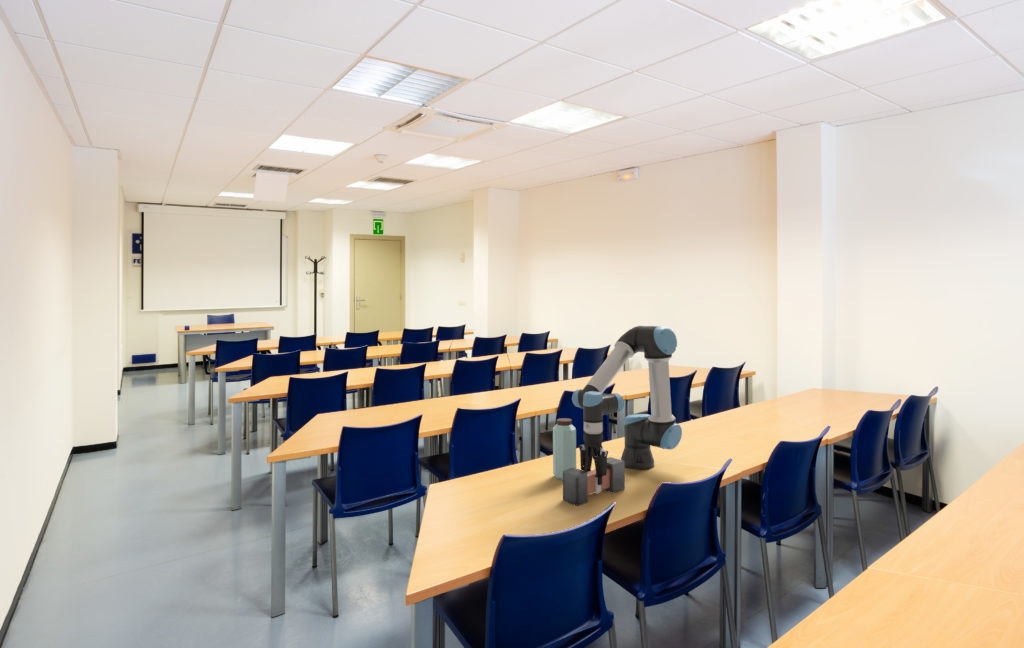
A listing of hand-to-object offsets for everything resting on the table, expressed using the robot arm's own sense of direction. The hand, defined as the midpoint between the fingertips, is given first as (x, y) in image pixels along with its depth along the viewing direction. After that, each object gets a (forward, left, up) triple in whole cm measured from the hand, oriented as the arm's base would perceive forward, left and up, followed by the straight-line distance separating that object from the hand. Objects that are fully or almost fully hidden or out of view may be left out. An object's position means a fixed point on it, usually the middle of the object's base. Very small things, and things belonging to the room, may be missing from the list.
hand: (593, 490), depth 214 cm
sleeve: (-11, 0, -2) cm, 11 cm away
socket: (+10, 0, -2) cm, 10 cm away
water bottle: (-7, -23, -2) cm, 24 cm away
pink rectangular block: (-2, 0, 0) cm, 3 cm away
